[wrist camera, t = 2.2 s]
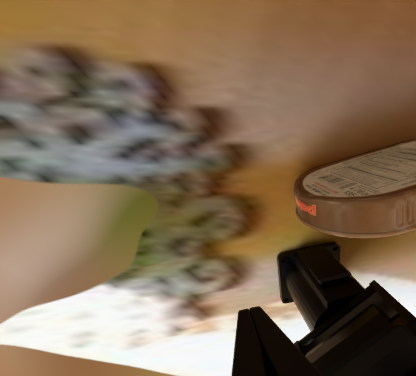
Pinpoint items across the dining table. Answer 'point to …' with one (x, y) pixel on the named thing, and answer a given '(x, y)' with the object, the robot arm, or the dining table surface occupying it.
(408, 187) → the tin
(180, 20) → the dining table surface
